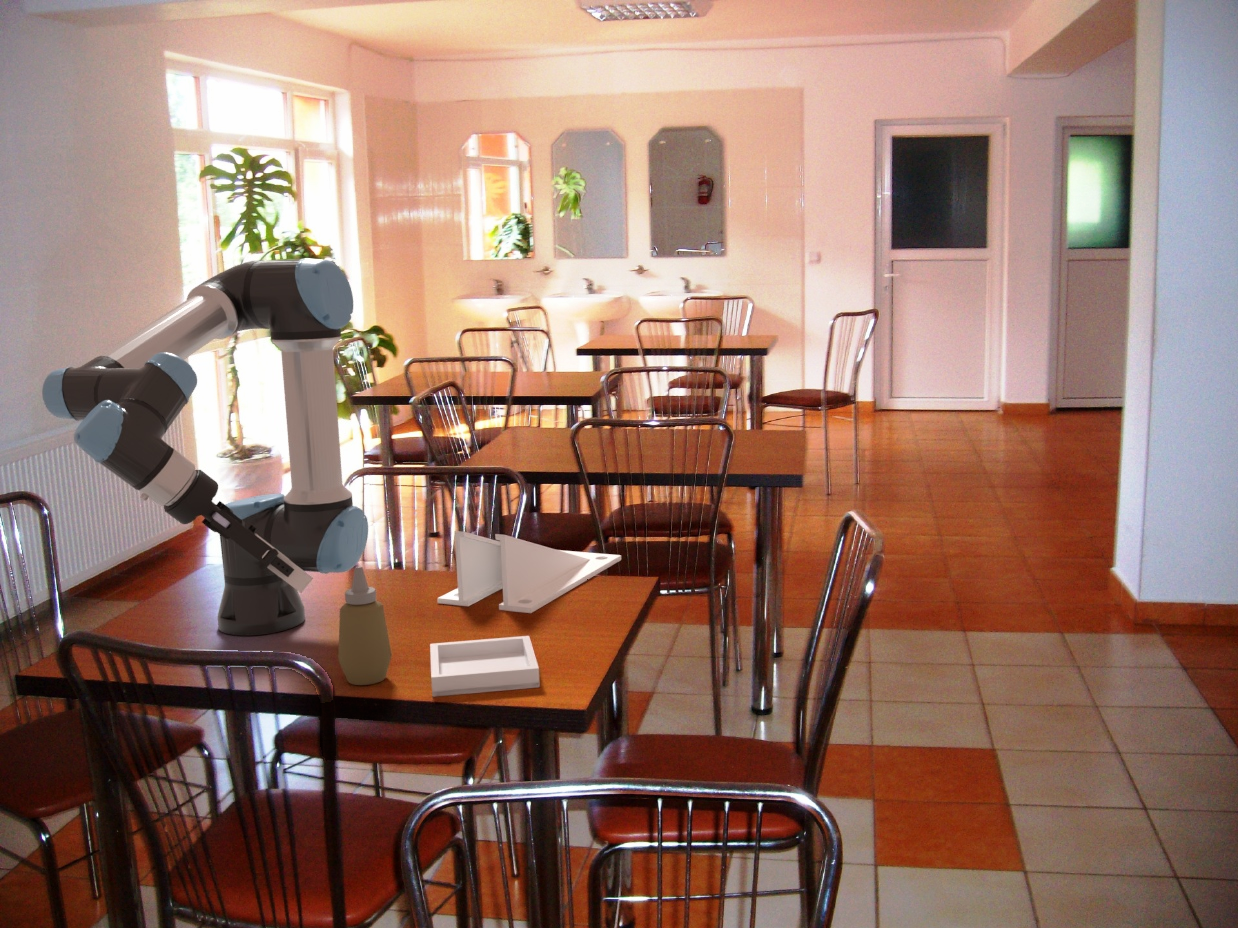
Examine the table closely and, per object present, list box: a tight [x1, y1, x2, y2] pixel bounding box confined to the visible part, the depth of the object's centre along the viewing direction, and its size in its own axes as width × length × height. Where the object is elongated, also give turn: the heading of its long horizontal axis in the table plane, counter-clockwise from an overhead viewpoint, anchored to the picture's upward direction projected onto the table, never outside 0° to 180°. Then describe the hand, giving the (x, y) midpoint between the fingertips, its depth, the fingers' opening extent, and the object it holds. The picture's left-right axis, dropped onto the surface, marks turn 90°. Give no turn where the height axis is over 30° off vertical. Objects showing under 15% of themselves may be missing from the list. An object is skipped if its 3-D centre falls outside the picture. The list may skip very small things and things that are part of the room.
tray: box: [429, 635, 541, 698], centre depth 187 cm, size 16×16×3 cm
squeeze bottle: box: [338, 566, 392, 686], centre depth 185 cm, size 8×8×18 cm
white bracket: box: [436, 530, 622, 614], centre depth 239 cm, size 20×14×40 cm
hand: (294, 575), depth 179 cm, fingers open, 13 cm apart
